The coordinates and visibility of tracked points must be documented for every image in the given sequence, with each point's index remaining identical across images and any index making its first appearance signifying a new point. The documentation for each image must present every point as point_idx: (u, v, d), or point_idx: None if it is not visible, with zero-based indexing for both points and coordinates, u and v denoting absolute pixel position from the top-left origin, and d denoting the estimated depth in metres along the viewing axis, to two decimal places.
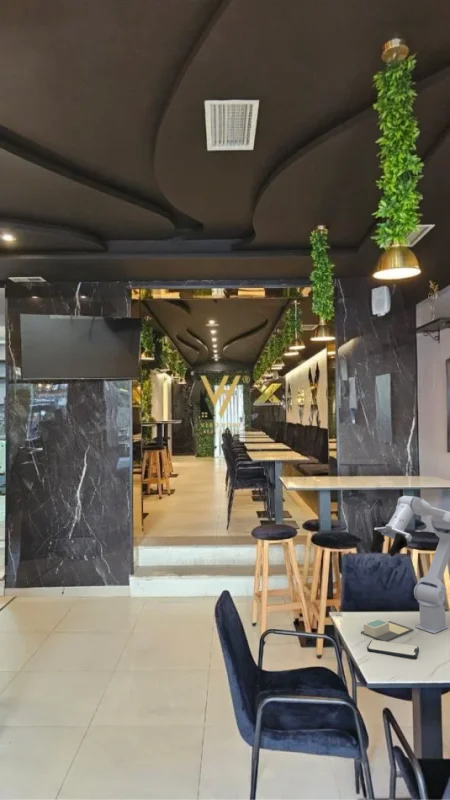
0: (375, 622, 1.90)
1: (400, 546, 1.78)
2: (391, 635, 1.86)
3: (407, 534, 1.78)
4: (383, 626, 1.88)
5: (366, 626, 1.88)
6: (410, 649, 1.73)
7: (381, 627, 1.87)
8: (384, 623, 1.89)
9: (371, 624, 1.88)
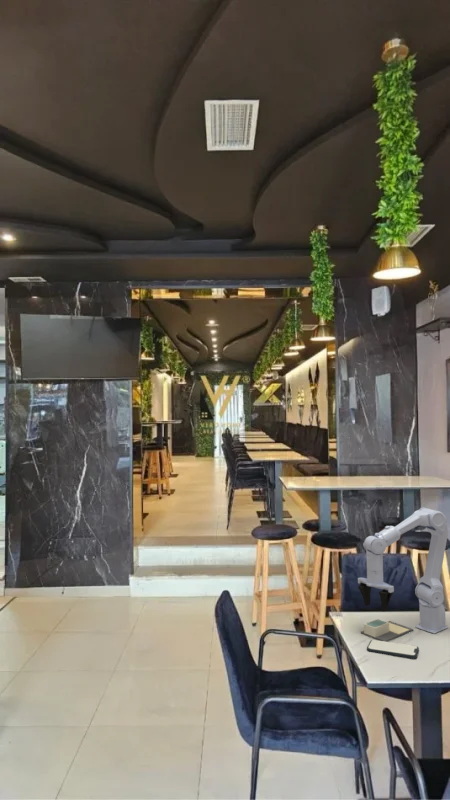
0: (375, 622, 1.90)
1: (388, 597, 1.87)
2: (391, 635, 1.86)
3: (388, 588, 1.84)
4: (383, 626, 1.88)
5: (366, 626, 1.88)
6: (409, 649, 1.73)
7: (381, 627, 1.87)
8: (384, 623, 1.89)
9: (371, 624, 1.88)
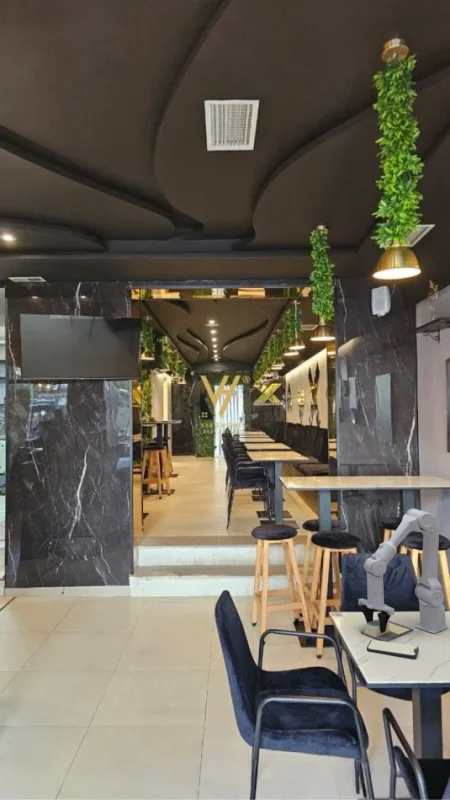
0: (375, 622, 1.90)
1: (386, 618, 1.87)
2: (391, 635, 1.86)
3: (389, 611, 1.84)
4: None
5: (366, 626, 1.88)
6: (409, 649, 1.73)
7: None
8: None
9: (371, 624, 1.88)
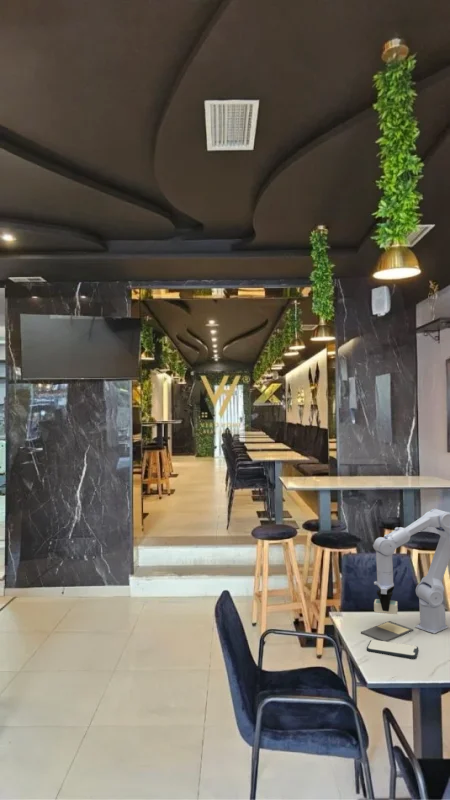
0: None
1: (388, 598, 1.88)
2: (391, 635, 1.86)
3: (380, 589, 1.87)
4: None
5: (374, 601, 1.95)
6: (409, 649, 1.74)
7: None
8: (391, 604, 1.90)
9: (378, 601, 1.93)
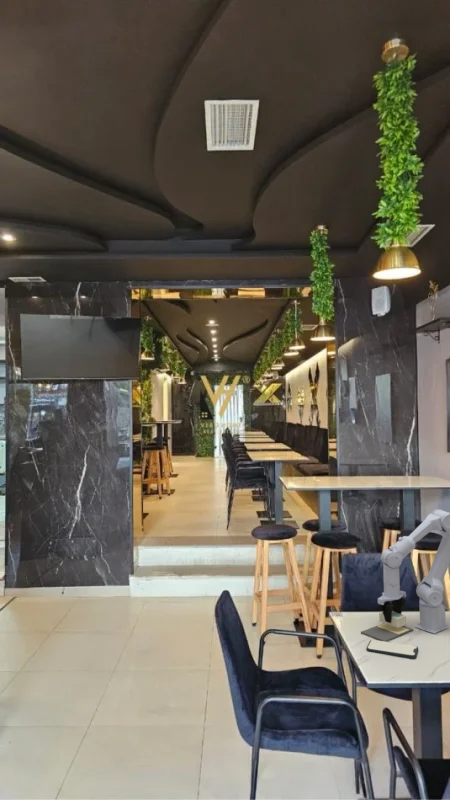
0: (393, 613, 1.94)
1: None
2: (391, 635, 1.86)
3: None
4: None
5: None
6: (409, 649, 1.74)
7: None
8: (394, 616, 1.91)
9: None
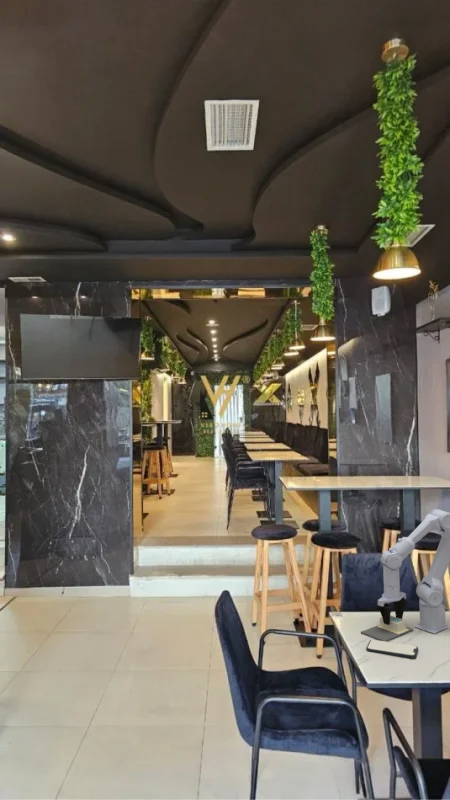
0: (394, 618, 1.94)
1: None
2: (391, 635, 1.86)
3: None
4: (390, 622, 1.91)
5: None
6: (409, 649, 1.74)
7: None
8: (394, 621, 1.91)
9: None
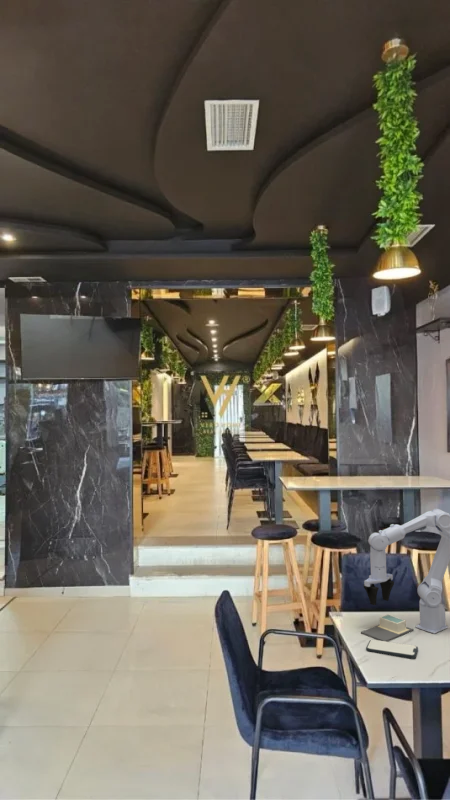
0: (394, 618, 1.94)
1: None
2: (391, 635, 1.86)
3: None
4: (390, 622, 1.91)
5: None
6: (409, 649, 1.74)
7: (386, 621, 1.92)
8: (394, 621, 1.91)
9: (387, 616, 1.96)
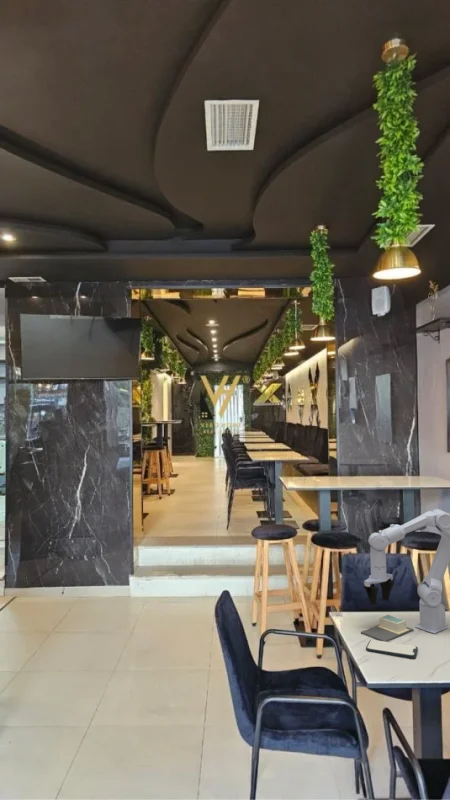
0: (394, 618, 1.94)
1: None
2: (391, 635, 1.86)
3: None
4: (390, 622, 1.91)
5: None
6: (408, 649, 1.74)
7: (386, 621, 1.92)
8: (394, 621, 1.91)
9: (387, 616, 1.96)
